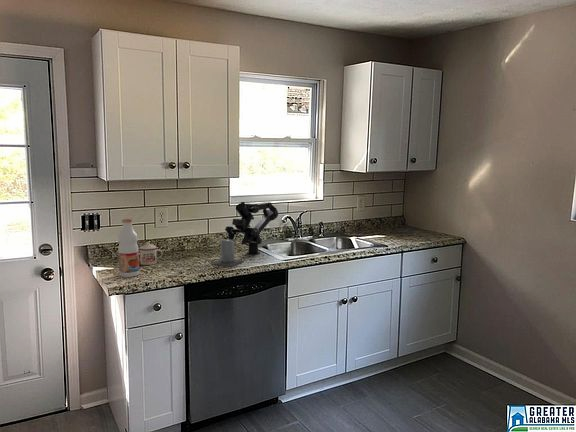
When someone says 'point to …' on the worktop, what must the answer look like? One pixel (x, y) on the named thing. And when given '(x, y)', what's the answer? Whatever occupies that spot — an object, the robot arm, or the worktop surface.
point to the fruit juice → (128, 250)
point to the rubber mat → (227, 263)
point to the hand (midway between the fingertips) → (235, 243)
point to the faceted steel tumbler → (227, 251)
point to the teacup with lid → (149, 254)
